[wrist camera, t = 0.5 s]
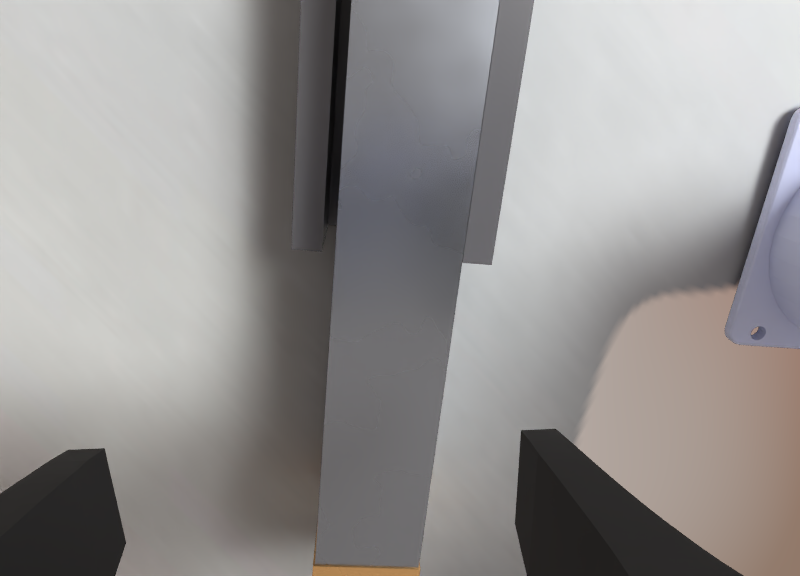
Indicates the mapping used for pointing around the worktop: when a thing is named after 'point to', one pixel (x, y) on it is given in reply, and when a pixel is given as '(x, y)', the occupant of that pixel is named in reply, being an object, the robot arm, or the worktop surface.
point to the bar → (397, 271)
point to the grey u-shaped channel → (325, 118)
